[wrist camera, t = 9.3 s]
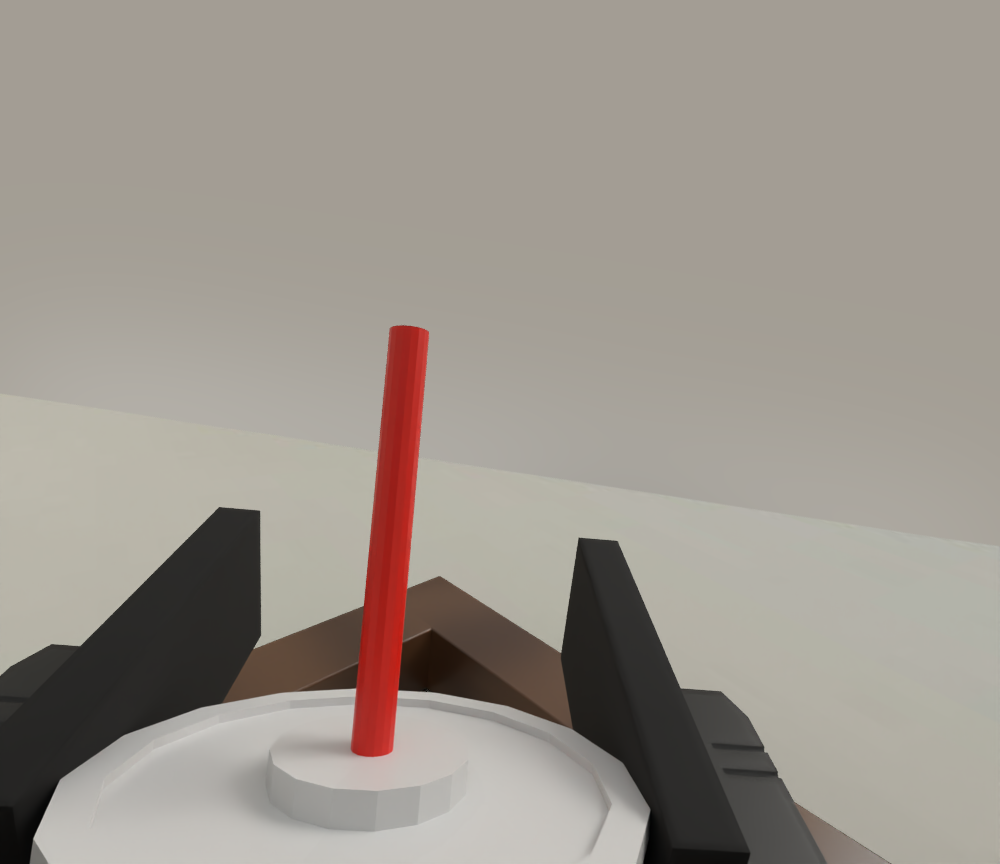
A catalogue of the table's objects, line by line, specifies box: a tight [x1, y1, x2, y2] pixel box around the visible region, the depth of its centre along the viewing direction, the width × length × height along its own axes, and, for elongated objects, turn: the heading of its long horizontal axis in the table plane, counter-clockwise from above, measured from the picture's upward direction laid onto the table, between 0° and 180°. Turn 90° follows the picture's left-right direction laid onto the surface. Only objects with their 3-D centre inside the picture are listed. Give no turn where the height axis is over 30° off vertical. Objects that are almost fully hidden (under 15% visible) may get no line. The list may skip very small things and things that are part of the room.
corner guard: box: [222, 576, 891, 864], centre depth 17 cm, size 16×29×2 cm, turn 91°
